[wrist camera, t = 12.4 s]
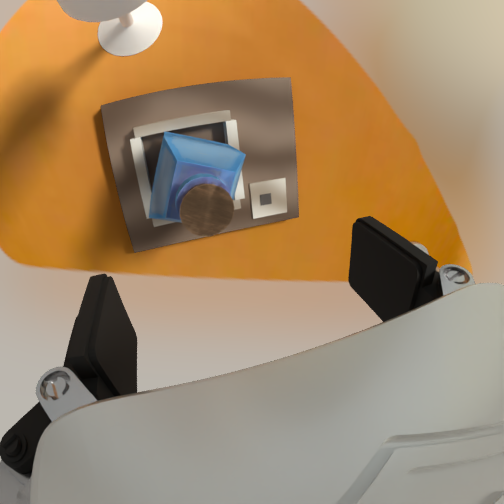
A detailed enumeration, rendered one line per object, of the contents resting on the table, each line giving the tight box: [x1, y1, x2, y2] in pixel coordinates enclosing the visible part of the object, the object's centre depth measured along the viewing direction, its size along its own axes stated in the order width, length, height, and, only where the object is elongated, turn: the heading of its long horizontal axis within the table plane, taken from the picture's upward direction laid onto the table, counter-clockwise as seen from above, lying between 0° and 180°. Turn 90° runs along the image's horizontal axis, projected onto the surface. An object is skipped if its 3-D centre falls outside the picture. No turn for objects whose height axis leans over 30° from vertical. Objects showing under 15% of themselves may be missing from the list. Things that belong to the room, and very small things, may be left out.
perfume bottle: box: [149, 132, 246, 236], centre depth 22 cm, size 6×6×12 cm
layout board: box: [101, 78, 299, 253], centre depth 28 cm, size 16×19×3 cm
